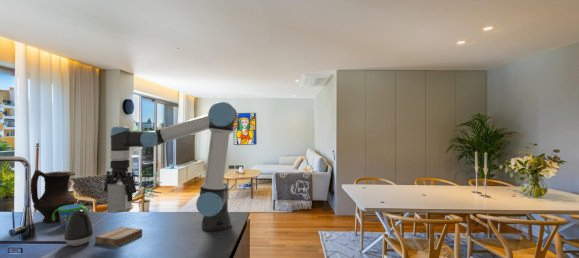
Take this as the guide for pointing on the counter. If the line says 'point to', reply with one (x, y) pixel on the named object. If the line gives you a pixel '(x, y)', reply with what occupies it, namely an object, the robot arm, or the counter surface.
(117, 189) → the white canister
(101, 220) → the counter surface
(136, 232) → the pedestal
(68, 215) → the snack cup
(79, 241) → the egg shaped speaker
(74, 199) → the jug
